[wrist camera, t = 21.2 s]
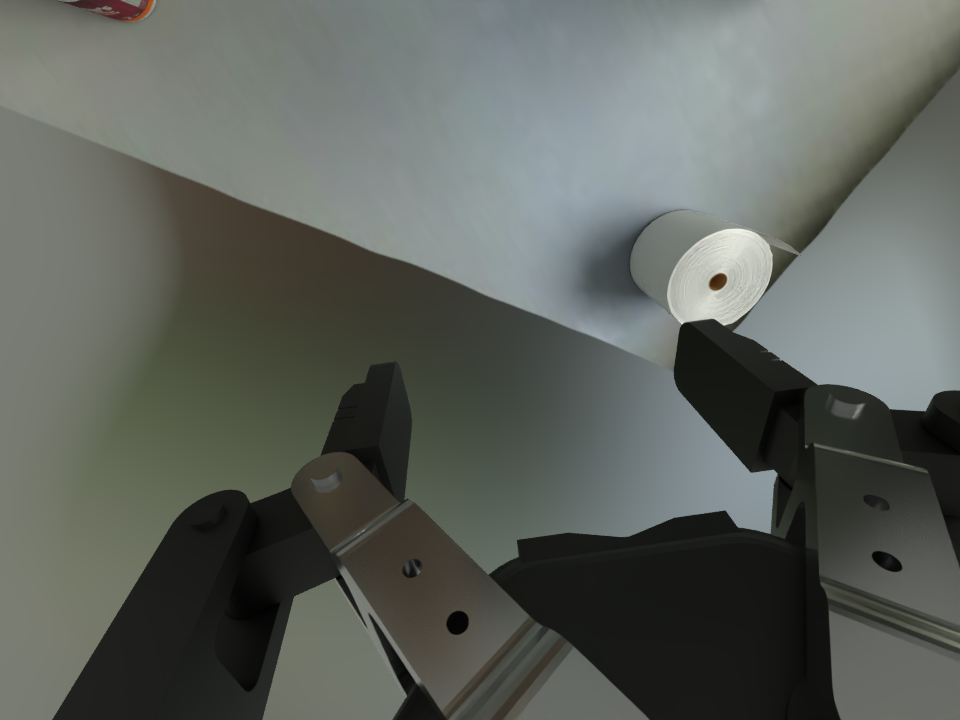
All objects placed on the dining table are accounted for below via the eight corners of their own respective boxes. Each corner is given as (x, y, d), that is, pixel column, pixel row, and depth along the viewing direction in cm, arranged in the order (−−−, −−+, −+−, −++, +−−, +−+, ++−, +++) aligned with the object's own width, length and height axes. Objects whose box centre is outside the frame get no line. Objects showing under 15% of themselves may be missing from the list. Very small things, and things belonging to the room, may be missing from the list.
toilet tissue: (610, 265, 50) (645, 294, 42) (687, 178, 46) (743, 191, 37) (667, 311, 54) (709, 347, 45) (742, 235, 50) (805, 259, 41)
